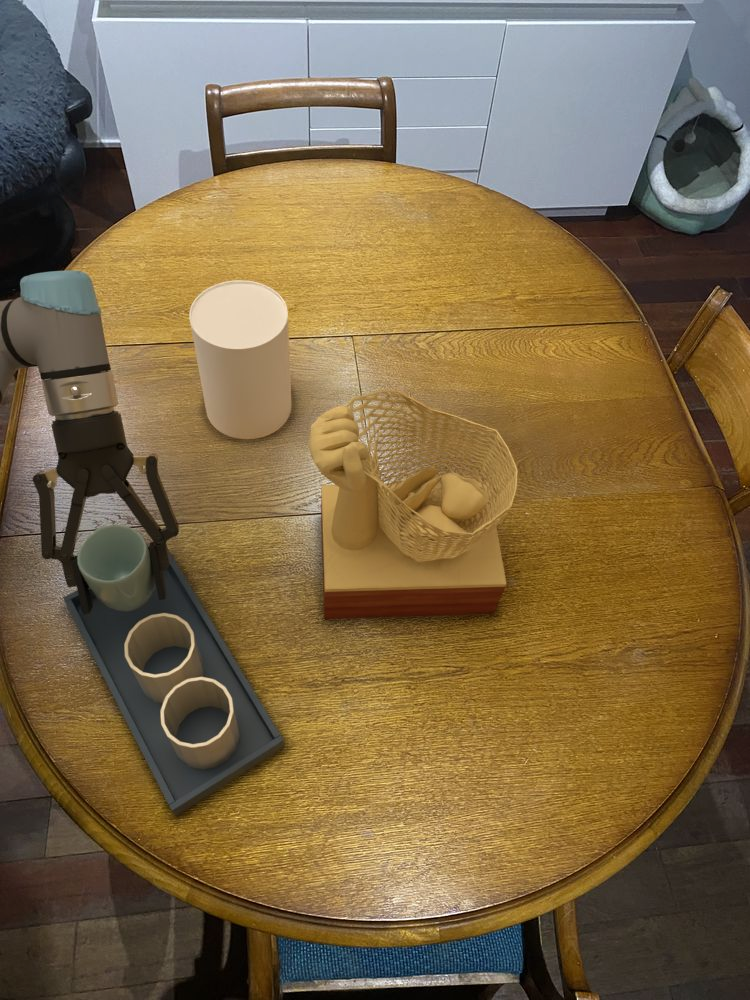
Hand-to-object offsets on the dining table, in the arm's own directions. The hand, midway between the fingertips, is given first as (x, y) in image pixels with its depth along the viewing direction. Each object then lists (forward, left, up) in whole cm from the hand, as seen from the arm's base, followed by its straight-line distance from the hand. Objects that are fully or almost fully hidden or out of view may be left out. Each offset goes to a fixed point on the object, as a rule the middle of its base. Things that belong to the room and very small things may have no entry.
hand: (125, 602), depth 93 cm
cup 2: (+6, +1, -11) cm, 13 cm away
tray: (+6, +1, -11) cm, 13 cm away
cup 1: (-3, +1, -4) cm, 5 cm away
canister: (-28, +31, -11) cm, 43 cm away
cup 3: (+16, +1, -11) cm, 19 cm away
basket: (+8, +35, -11) cm, 38 cm away
